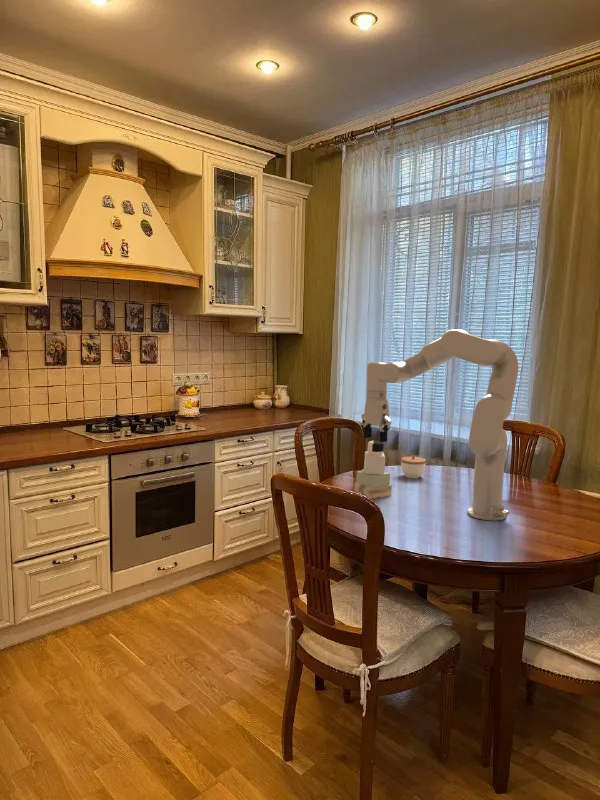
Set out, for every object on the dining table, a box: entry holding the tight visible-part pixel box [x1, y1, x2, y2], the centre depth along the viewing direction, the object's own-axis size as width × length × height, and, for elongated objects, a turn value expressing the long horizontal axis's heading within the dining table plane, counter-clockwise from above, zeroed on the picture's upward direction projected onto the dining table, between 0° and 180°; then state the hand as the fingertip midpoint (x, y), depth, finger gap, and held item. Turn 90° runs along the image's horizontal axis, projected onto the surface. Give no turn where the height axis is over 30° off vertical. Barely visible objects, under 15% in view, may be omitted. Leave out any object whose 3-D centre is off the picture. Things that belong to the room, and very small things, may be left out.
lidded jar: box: [400, 455, 427, 479], centre depth 242 cm, size 11×11×9 cm
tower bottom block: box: [354, 481, 393, 500], centre depth 214 cm, size 10×10×4 cm
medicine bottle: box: [363, 440, 386, 475], centre depth 212 cm, size 7×7×12 cm
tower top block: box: [355, 469, 391, 488], centre depth 214 cm, size 9×9×4 cm
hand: (375, 439), depth 212 cm, fingers open, 9 cm apart
